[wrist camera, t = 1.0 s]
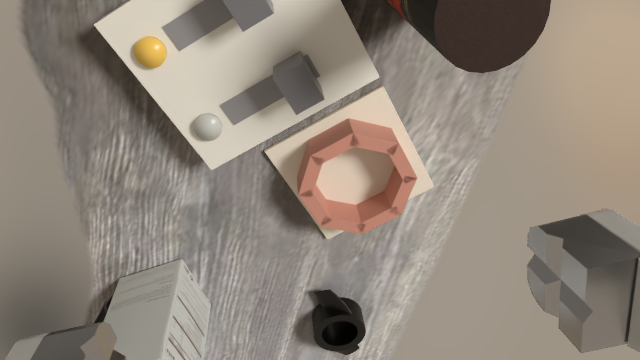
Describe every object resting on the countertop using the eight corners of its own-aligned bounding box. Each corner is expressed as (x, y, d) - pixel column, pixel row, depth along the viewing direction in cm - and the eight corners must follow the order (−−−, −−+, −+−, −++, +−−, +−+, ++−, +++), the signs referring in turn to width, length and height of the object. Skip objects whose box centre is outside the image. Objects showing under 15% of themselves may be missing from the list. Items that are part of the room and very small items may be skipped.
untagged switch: (300, 50, 36) (302, 62, 33) (321, 85, 37) (324, 99, 35) (272, 66, 36) (273, 79, 34) (294, 100, 38) (296, 115, 35)
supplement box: (151, 322, 53) (122, 431, 43) (118, 276, 50) (76, 383, 39) (213, 304, 53) (199, 410, 42) (184, 256, 49) (160, 359, 38)
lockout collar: (382, 84, 41) (391, 99, 38) (433, 184, 47) (443, 203, 44) (264, 149, 43) (264, 168, 40) (327, 237, 49) (330, 258, 46)
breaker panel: (286, -104, 33) (288, -104, 30) (372, 65, 40) (380, 79, 37) (105, 15, 36) (91, 26, 33) (215, 153, 43) (211, 173, 40)
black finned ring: (294, 339, 57) (296, 359, 55) (315, 278, 52) (318, 297, 50) (355, 345, 59) (359, 365, 56) (381, 286, 54) (386, 305, 52)
